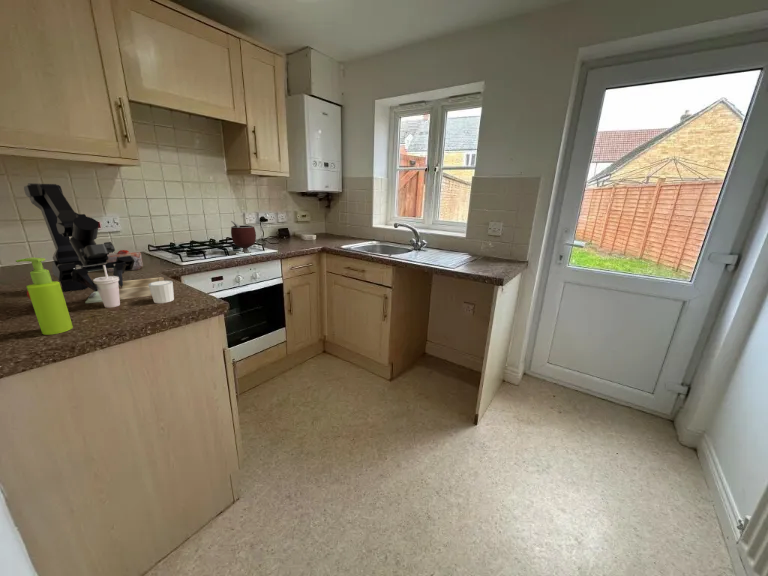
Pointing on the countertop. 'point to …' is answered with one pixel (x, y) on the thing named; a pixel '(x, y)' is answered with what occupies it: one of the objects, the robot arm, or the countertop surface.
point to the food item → (135, 255)
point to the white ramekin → (162, 291)
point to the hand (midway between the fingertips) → (109, 288)
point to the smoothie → (108, 289)
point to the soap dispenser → (47, 300)
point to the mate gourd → (243, 236)
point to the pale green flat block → (94, 298)
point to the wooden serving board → (137, 288)
